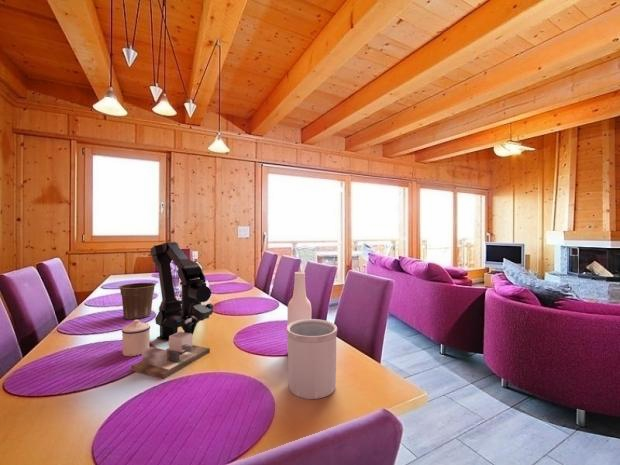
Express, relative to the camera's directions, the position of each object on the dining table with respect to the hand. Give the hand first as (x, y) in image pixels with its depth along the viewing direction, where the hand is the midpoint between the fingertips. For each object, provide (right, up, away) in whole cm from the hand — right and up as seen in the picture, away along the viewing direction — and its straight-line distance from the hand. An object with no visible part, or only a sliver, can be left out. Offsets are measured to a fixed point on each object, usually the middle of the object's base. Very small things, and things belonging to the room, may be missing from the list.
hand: (189, 338), depth 110 cm
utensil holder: (+46, -5, -25) cm, 53 cm away
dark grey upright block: (+1, -2, -14) cm, 14 cm away
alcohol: (+42, -5, -3) cm, 42 cm away
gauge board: (-2, -4, -10) cm, 11 cm away
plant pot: (-43, -3, +40) cm, 59 cm away
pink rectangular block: (0, -2, -5) cm, 5 cm away
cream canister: (-20, -4, -2) cm, 21 cm away
